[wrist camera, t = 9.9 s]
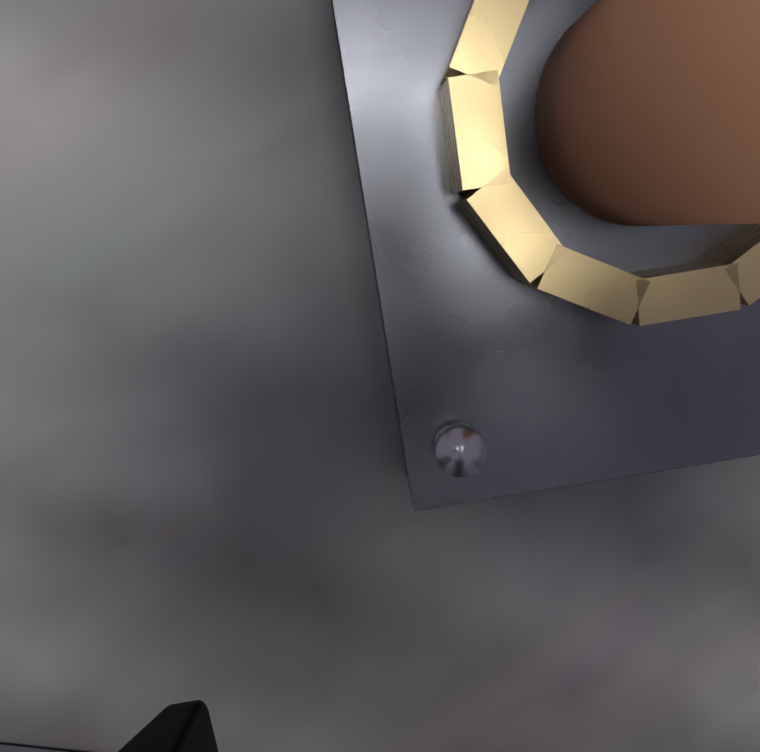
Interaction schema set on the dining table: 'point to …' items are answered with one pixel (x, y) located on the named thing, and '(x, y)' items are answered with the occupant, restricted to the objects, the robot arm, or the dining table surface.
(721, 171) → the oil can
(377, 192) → the gearbox housing
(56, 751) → the coffee box
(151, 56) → the dining table surface
